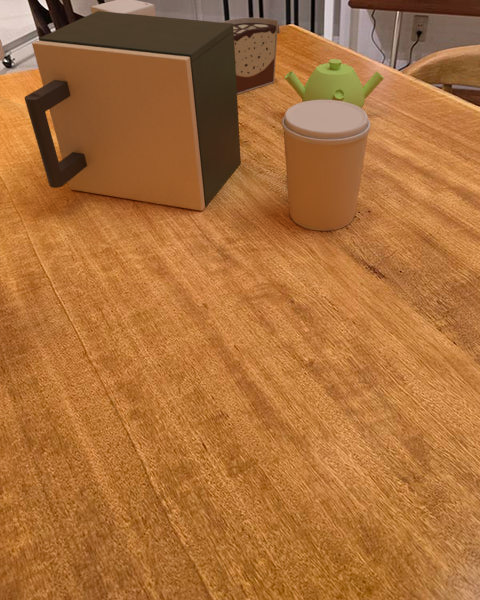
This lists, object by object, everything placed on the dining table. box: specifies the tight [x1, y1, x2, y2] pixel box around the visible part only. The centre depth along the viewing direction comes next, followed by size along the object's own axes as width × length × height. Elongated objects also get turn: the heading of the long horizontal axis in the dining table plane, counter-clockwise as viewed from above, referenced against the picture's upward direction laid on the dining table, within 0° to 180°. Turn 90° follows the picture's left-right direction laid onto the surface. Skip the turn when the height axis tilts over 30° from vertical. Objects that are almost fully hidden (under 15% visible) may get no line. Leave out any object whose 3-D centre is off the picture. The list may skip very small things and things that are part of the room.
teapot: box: [284, 58, 385, 109], centre depth 90 cm, size 11×12×8 cm
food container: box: [221, 17, 281, 96], centre depth 99 cm, size 12×6×10 cm, turn 135°
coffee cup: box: [281, 100, 371, 232], centre depth 66 cm, size 9×9×12 cm
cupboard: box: [38, 11, 242, 208], centre depth 71 cm, size 12×18×18 cm
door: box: [24, 40, 206, 212], centre depth 64 cm, size 7×18×17 cm, turn 74°
